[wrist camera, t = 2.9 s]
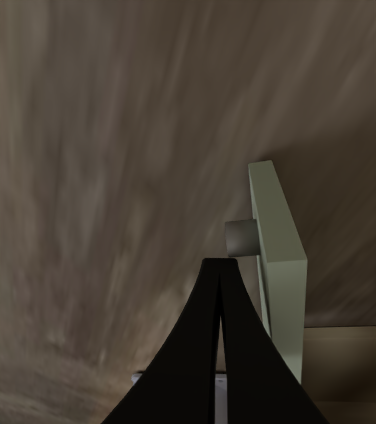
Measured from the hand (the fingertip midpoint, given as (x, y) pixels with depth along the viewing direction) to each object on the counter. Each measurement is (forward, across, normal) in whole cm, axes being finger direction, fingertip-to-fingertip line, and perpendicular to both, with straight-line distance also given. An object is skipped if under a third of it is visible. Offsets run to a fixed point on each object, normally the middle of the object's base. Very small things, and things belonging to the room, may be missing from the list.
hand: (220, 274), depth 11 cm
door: (+3, -2, +3) cm, 5 cm away
